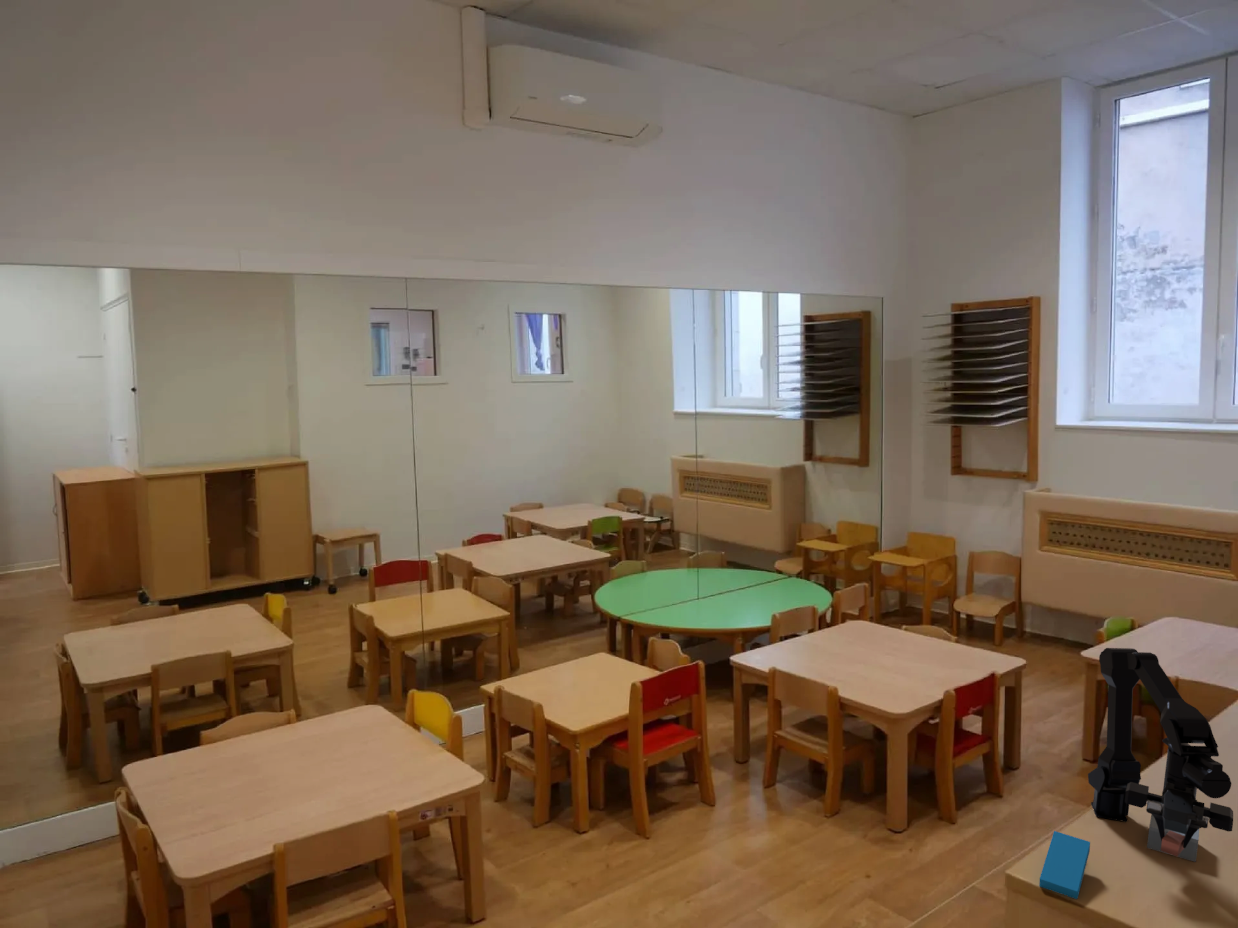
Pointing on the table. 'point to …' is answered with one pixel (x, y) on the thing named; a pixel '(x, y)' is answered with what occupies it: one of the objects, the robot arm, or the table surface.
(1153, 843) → the posting box
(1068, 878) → the blue rectangular box
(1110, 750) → the robot arm
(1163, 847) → the pink rectangular block
